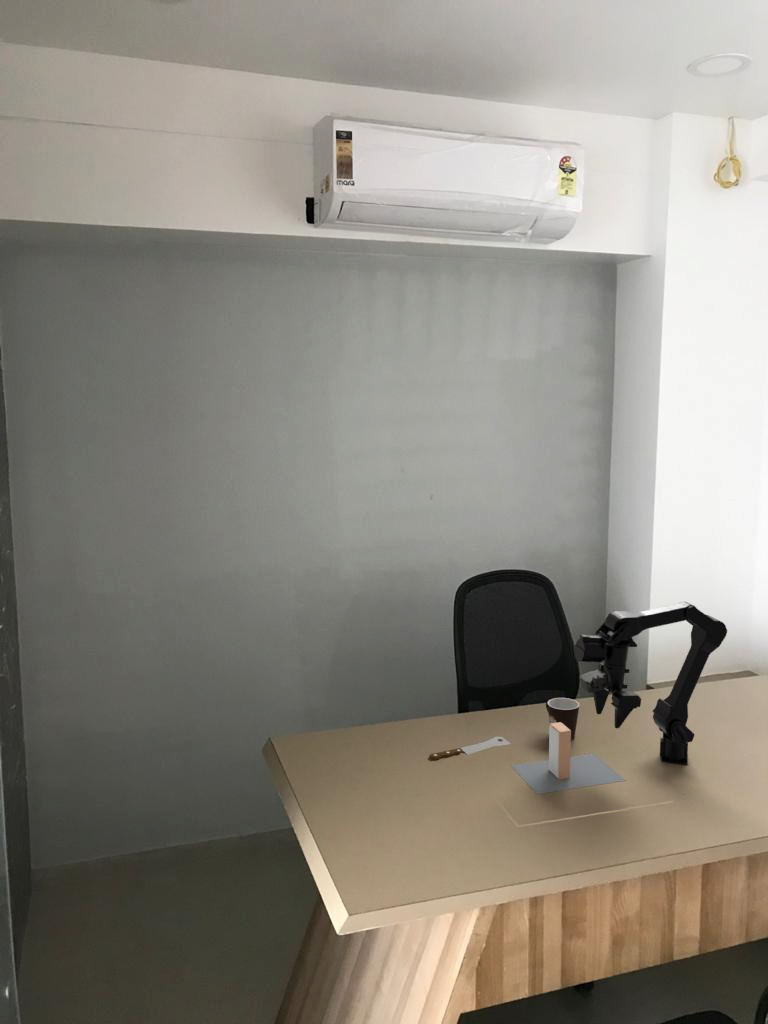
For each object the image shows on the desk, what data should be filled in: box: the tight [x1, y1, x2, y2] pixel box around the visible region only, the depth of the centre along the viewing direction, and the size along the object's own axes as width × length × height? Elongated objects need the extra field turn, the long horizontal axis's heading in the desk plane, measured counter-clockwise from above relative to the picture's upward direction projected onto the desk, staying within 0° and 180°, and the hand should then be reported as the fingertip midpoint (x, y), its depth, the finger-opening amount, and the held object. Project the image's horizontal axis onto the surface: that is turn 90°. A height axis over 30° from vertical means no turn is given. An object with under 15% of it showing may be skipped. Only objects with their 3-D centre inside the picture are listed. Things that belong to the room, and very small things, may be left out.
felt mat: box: [510, 753, 627, 795], centre depth 220 cm, size 24×16×1 cm, turn 105°
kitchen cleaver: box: [428, 736, 512, 761], centre depth 233 cm, size 24×1×10 cm
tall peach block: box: [548, 722, 572, 779], centre depth 219 cm, size 3×6×12 cm, turn 15°
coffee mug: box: [545, 697, 580, 742], centre depth 243 cm, size 12×9×10 cm
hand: (607, 720), depth 223 cm, fingers open, 9 cm apart
